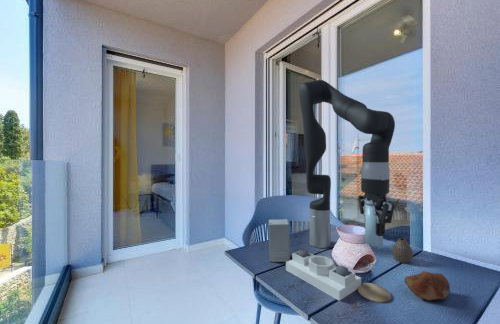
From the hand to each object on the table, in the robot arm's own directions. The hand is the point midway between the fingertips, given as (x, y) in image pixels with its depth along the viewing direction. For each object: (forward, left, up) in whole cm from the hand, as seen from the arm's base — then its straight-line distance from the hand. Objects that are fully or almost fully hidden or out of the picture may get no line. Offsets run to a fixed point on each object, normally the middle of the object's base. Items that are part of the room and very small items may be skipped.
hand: (374, 232), depth 69 cm
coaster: (0, 0, -19) cm, 19 cm away
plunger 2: (+6, -7, -15) cm, 18 cm away
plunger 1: (+6, -23, -15) cm, 28 cm away
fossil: (-12, +10, -19) cm, 25 cm away
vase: (-31, -4, -19) cm, 37 cm away
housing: (+6, -15, -19) cm, 25 cm away
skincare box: (+8, -34, -19) cm, 40 cm away
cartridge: (0, 0, -3) cm, 3 cm away
